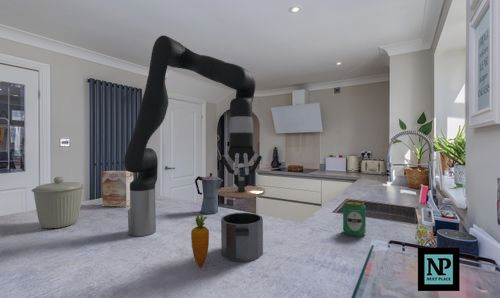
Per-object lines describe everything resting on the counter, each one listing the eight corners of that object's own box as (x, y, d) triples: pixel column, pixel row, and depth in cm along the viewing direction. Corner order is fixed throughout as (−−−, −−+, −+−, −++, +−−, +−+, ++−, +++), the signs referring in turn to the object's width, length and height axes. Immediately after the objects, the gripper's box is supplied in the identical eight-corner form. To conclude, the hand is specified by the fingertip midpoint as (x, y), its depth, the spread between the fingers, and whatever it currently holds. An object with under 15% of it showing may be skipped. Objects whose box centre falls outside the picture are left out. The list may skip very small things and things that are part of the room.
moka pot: (220, 215, 123) (220, 174, 122) (190, 214, 126) (190, 173, 125) (226, 210, 132) (225, 172, 131) (198, 209, 135) (197, 171, 135)
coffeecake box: (102, 206, 142) (101, 171, 141) (111, 203, 149) (110, 170, 148) (126, 207, 139) (125, 172, 139) (134, 204, 146) (133, 170, 146)
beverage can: (343, 235, 95) (343, 203, 95) (343, 228, 103) (343, 199, 102) (366, 238, 93) (366, 205, 92) (364, 231, 100) (364, 200, 100)
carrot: (192, 263, 74) (192, 212, 74) (209, 262, 75) (209, 212, 74) (190, 272, 69) (189, 217, 69) (208, 271, 70) (208, 216, 69)
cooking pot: (219, 265, 73) (219, 227, 73) (223, 242, 90) (223, 211, 89) (264, 264, 73) (264, 226, 73) (260, 241, 90) (260, 211, 90)
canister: (22, 229, 105) (21, 178, 105) (67, 217, 122) (66, 173, 121) (50, 234, 98) (48, 180, 98) (94, 221, 115) (93, 175, 115)
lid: (215, 201, 73) (215, 182, 73) (220, 191, 88) (219, 175, 88) (267, 200, 74) (267, 182, 74) (263, 190, 89) (263, 175, 88)
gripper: (218, 131, 77) (218, 188, 77) (263, 131, 77) (264, 188, 77) (220, 132, 84) (220, 184, 84) (262, 132, 84) (262, 184, 85)
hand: (241, 186), depth 81 cm, fingers closed on lid
